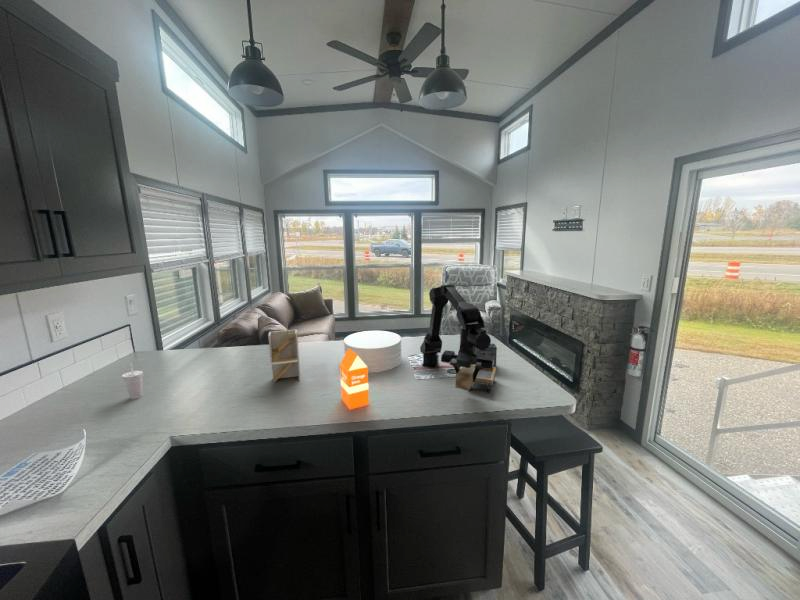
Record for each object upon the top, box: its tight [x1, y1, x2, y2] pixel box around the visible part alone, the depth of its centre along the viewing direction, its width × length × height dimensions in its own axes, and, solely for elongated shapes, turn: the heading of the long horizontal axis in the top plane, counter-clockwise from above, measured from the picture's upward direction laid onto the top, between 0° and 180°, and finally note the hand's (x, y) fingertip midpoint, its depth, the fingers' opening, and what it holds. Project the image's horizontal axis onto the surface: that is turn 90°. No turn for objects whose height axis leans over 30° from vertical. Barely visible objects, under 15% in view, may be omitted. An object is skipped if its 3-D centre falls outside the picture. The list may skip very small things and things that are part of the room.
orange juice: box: [339, 348, 370, 410], centre depth 121 cm, size 8×9×20 cm
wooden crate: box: [267, 324, 301, 383], centre depth 138 cm, size 8×12×26 cm
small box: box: [472, 343, 498, 368], centre depth 153 cm, size 11×6×10 cm, turn 84°
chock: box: [455, 365, 477, 391], centre depth 123 cm, size 5×11×5 cm, turn 153°
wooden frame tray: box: [470, 364, 497, 393], centre depth 135 cm, size 10×14×6 cm
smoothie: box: [121, 362, 144, 400], centre depth 127 cm, size 6×6×14 cm
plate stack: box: [343, 330, 402, 373], centre depth 161 cm, size 28×28×12 cm
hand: (466, 380), depth 123 cm, fingers closed on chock, 5 cm apart
